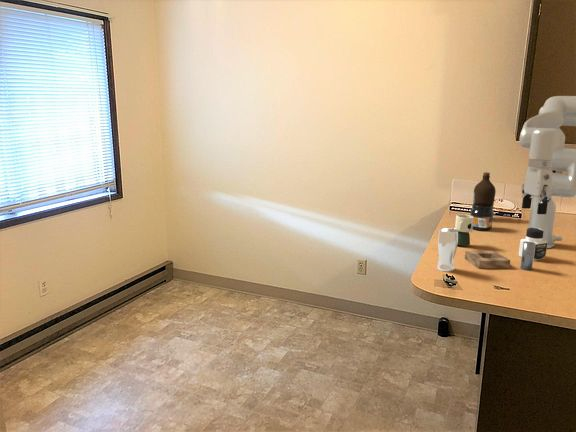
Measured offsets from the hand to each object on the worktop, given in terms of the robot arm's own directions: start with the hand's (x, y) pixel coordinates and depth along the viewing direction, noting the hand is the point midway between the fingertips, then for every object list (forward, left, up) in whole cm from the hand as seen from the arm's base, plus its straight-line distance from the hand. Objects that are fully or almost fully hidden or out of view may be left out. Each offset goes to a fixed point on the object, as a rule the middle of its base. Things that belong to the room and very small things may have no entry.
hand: (533, 211), depth 181 cm
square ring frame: (+12, -7, -22) cm, 26 cm away
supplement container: (-11, -59, -22) cm, 64 cm away
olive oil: (-21, -78, -22) cm, 84 cm away
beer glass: (+31, -1, -22) cm, 38 cm away
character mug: (+11, -31, -22) cm, 40 cm away
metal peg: (0, 0, -22) cm, 22 cm away
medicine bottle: (-10, -13, -22) cm, 28 cm away
